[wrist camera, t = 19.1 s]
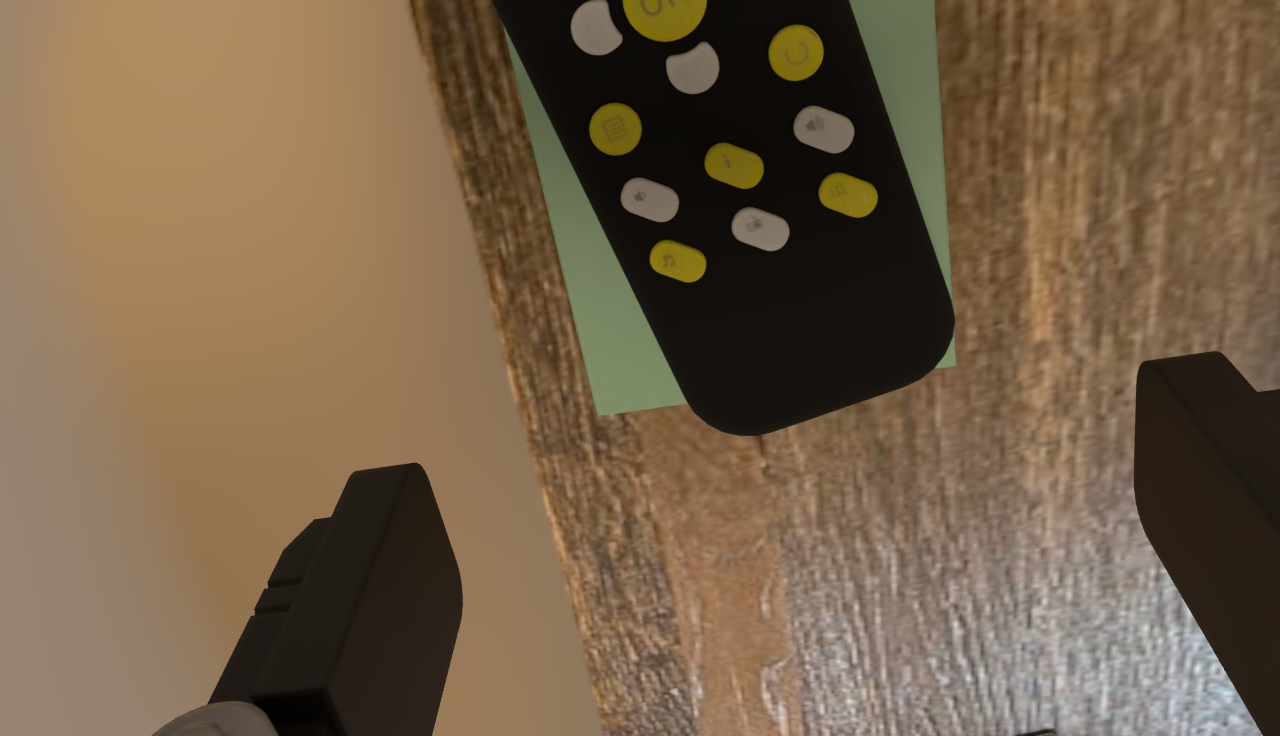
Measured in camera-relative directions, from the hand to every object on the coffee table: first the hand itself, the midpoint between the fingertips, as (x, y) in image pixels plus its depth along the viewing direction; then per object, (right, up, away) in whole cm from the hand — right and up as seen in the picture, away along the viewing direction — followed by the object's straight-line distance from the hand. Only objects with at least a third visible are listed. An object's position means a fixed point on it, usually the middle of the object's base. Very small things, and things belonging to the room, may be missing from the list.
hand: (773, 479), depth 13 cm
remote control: (0, +6, +11) cm, 13 cm away
